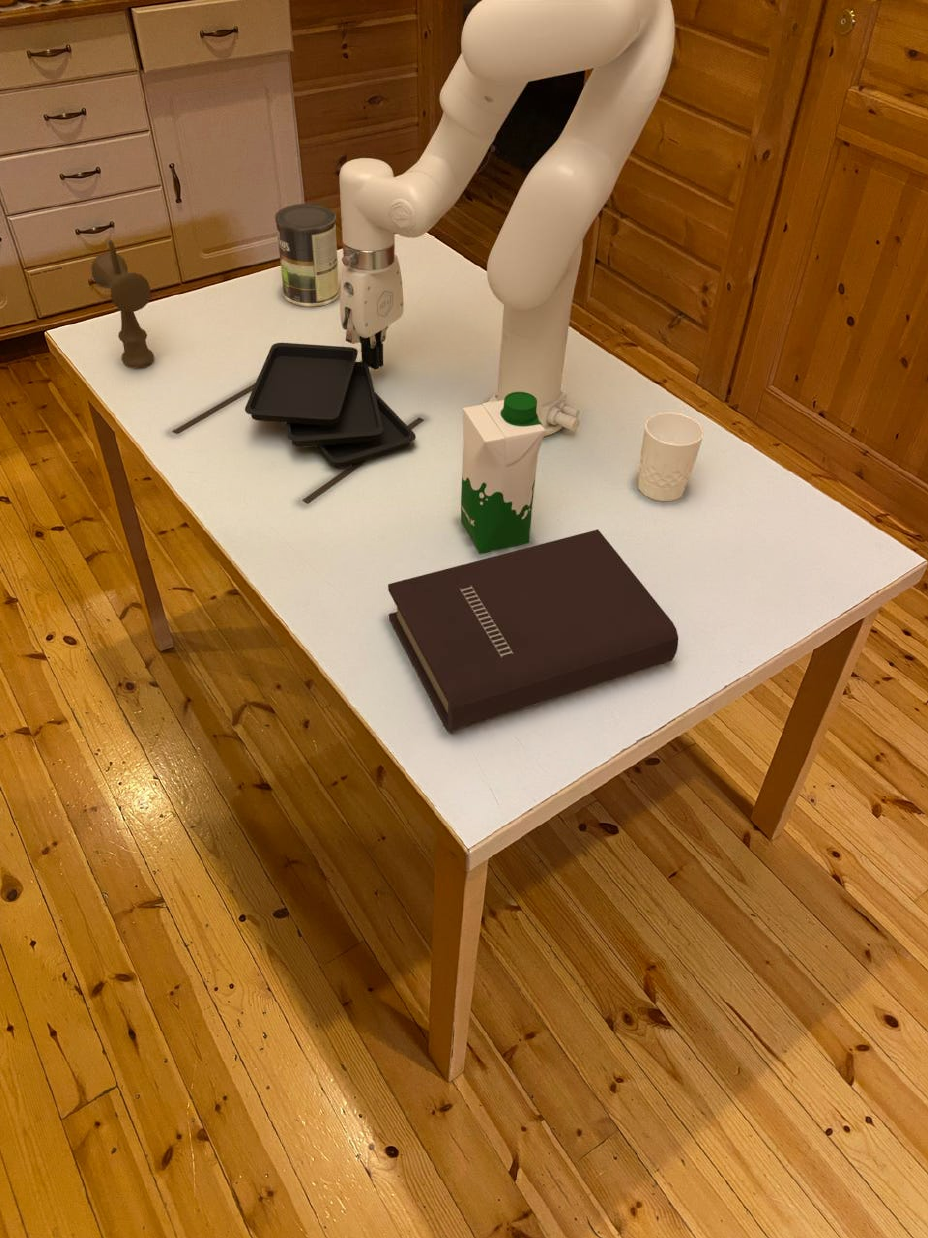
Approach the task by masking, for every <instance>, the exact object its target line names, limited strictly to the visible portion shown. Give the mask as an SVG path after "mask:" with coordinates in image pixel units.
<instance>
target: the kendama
mask: <svg viewBox="0 0 928 1238" xmlns="http://www.w3.org/2000/svg"><path fill="white" fill-rule="evenodd" d="M108 249H109V252H104V253H102V254H99V255H97V256H96V257H95V258H94V259H93V260H92V263H91V268H90V269H91V276H92V278H93V281H94V282H95V283H96V284H97V286H99V287H100V288H104V289H110V298H111V300H112V303H113V305H114V306H115V307H116V308H117V309H118V310H119V311H120V323H121V324H120V325H121V326H120V330H119V332H118V335H117V337H118V339H119V341H121V343H122V346H123V352H122V354H121V357H120V358H121V359H120V360H121V361H122V363H123V364H124V365H126V366H127V367H130V368H141V367H145V366H148V365H150V364H151V363H152V362H153V361H154V360H155V355H154V353H153V351H151V350H150V349H149V348H148V345H147V337H148V334H147V332H146V330H144V329H143V328H142V327H141V326H140V324H139V322H138V319H137V317H136V314H135V312H137V311H140V310H143V309H144V308H145V307H146V306H147V305H148V304H149V302H150V298H151V286H150V284H149V282H148V279H146V277H144V275H143V274H141V273H137V272H129V271H128V270H129V269H128V265H127V263H126V261H125V259H124V258H123V256H121V255H120V254H119V253H117V250H116V246H115V244H114V242H113V240H112V239H109V240H108Z"/></svg>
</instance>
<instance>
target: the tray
mask: <svg viewBox="0 0 928 1238" xmlns="http://www.w3.org/2000/svg"><path fill="white" fill-rule="evenodd" d="M358 354H359V351H358V348H355V347H352V346H341V345H340V346H339V345H338V346H337V345H323V344H310V343H309V344H308V343H307V344H306V343H294V342H293V343H292V342H276V343H273V344H272V345H271V346H270V349H269V351H268V353H267V356H266V358H265V359H264V362H263V365H262V367H261V370H260V371H259V375H258V376H257V379H256V381H255V386H254V388H253V390H252V391H251V392H250V395H249V398H248V400H247V403H246V404H245V407H244V411H245V413H246V414H247V415H250V416H251V419H252V420H254V421H257V422H270V423H283V424H284V423H285V426H286V427H285V428H286V436H287V439H288V440H289V441H291V444H292V446H294V447H297V448H307V447H308V448H309V447H315V448H316V449H317V450H318V452H320V454H321V455H322V456H323V457H324V459H325V460H326V461H327V462H328V463H329V465H330V466H331V467H333V468H335V469H343V468H346V467H347V468H348V467H350V466H351V465H353V464H357V463H360V462H363V461H366V460H368V461H370V460H373V459H375V458H379V457H382V456H385V455H388V454H391V453H394V452H399V451H402V450H404V449H407V448H408V447H410V445H411V444H410V443H411V442H414V441H415V440H416V438H417V435H416V433H415V432H414V431H413V430H412V429H410V428H409V427H408V426H407V425H408V424H406V422H405V421H403V419H402V418H401V417H399V415H397V413H396V412H395V411H394V410H393V409H392V408H391V407H390V406H389V405H388V404H387V403H386V402H385V401H384V400H383V399H382V398H381V396H380V395H379V394H378V393H377V392H376V391H375V387H374V382H373V378H372V375H371V370H370V367H369V366H368V364H367V363H365V362H362V361H357V358H358ZM366 462H367V461H366Z"/></svg>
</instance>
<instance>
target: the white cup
mask: <svg viewBox="0 0 928 1238" xmlns="http://www.w3.org/2000/svg"><path fill="white" fill-rule="evenodd" d="M704 434H705V431H704V428H703V426H702V424H700V422H699V421H698V420H697V419H695V418H693V417H691V416H689V415H687V414H684V413H679V412H672V411H670V412H669V411H665V412H659V413H655V414H653V415H651V416H649V417H648V418H647V419H646V421H645V424H644V429H643V436H642V443H641V448H640V449H641V450H640V456H639V465H638V475H637V489H638V490H639V491H640V492H641V494H642V495H644V497H647V498H649V499H651V500H654V501H658V502H673V501H676V500H678V499H680V498H682V496H683V495H684V493H685V491H686V488H687V485H688V482H689V479H690V477H691V474H692V472H693V469H694V465H695V464H696V460H697V458H698V457H697V456H698V453H699V450H700V447H701V444H702V442H703V438H704Z"/></svg>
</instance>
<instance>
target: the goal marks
mask: <svg viewBox="0 0 928 1238" xmlns="http://www.w3.org/2000/svg"><path fill="white" fill-rule="evenodd" d="M255 383H256V382H255ZM255 383H253V384H251V385H249V386H247V387H246V388H244V389H242V390H240V391H238V392H237V393H236V394H233V395H232V396H230V397H228V398H227V399H225V400H223V401H221V402H220V403H218V404H216V405H215V406H213V407H211V408H210V409H208V410H205V411H204V412H202V413H201V414H199V415H197V416H196V417H194V418H192V419H191V420H188V421H187V422H186V423H183V424H182V425H180V426H179V427H176V428H174V429H173V430H172V432H173V433H174V434H176V435H179V434H180V433H182V432H183V431H185V430H187V429H188V428H190V427H192V426H193V425H195V424H198V423H199V422H200V421H202V420H204V419H206V418H207V417H209V416H210V415H212V414H214V413H215V412H217V411H220V410H221V409H222V408H224V407H226V406H228V405H229V404H231V403H232V402H235V401H236V400H238V399H240V398H241V397H243V396H245V395H247V394H248V393H251V392H252V390H253V388H254V386H255ZM424 421H425V419H424V418H422V417H419V416H418V417H417V418H416V419H414V420H413V421H412V422H410V423H409V424H406V425H407V426H408V427H409V428H410V429H411V430H412V429H414V428H415V427H417V426H418V425H419V424H421V423H422V422H424ZM368 461H369V460H366V461H363V462H360V463H357V464H353V465H350V466H347V468H346V469H344V470H343V471H341V472H340V473H338V474H337V475H335V476H334V477H332V478H331V479H330V480H329V481H327V482H325V483H323V485H322V486H320V487H318V488H317V489H316V490H315V491H313V492H311V493H310V494H309V495H307V496H306V497H304V498H303V499H302V502H304V503H306V504H309V503H311V502H312V501H314V500H315V499H316V498H318V497H319V496H320V495H322V494H323V493H324V492H326V491H327V490H329V489H331V488H332V487H333V486H335V485H336V484H337V483H339V482H340V481H341V480H343V479H344V478H345V477H347V476H348V475H350V474H351V473H353V472H354V471H355V470H357V469H359V467H361V466H362V465H364V464H365V463H367V462H368Z"/></svg>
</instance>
